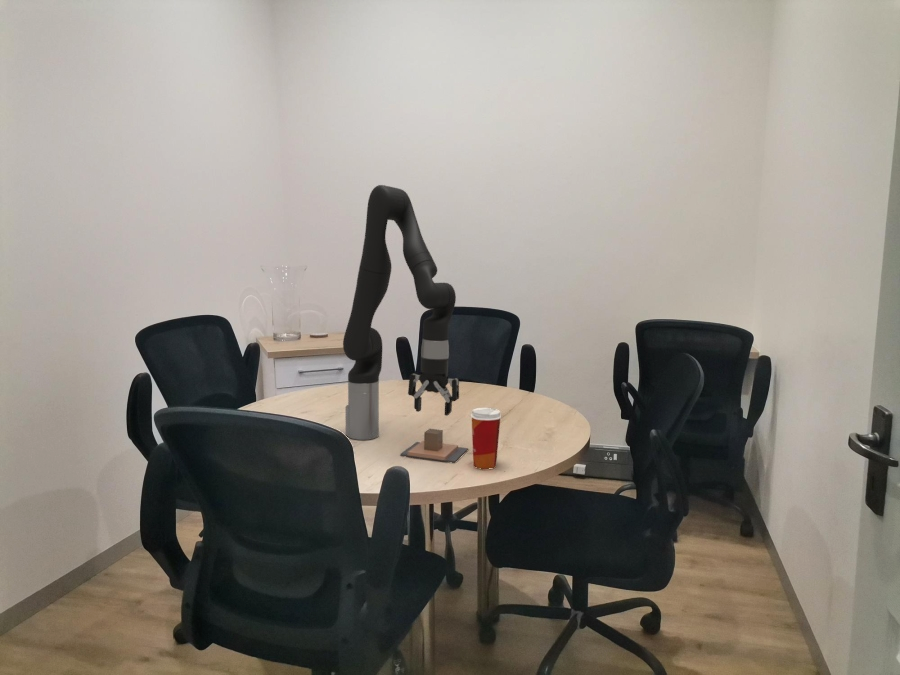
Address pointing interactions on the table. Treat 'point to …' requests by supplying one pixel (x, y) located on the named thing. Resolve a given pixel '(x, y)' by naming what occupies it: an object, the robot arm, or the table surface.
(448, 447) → the cover
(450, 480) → the table surface
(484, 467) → the coffee cup
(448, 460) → the mat
